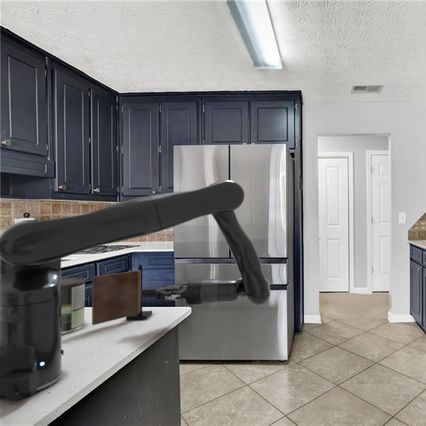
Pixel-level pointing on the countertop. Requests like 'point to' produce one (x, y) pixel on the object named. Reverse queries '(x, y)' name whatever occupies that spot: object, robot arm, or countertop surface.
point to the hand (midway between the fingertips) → (143, 293)
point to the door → (115, 296)
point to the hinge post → (143, 314)
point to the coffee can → (72, 304)
